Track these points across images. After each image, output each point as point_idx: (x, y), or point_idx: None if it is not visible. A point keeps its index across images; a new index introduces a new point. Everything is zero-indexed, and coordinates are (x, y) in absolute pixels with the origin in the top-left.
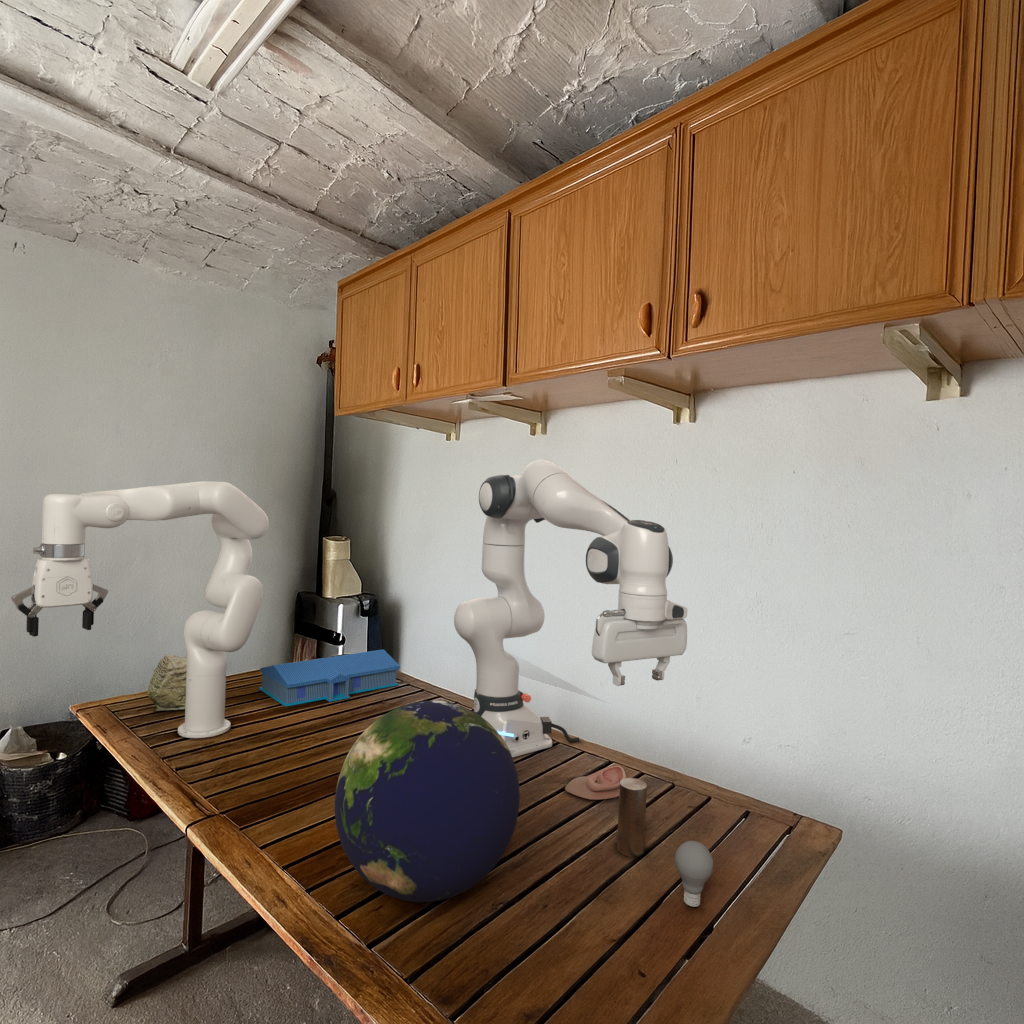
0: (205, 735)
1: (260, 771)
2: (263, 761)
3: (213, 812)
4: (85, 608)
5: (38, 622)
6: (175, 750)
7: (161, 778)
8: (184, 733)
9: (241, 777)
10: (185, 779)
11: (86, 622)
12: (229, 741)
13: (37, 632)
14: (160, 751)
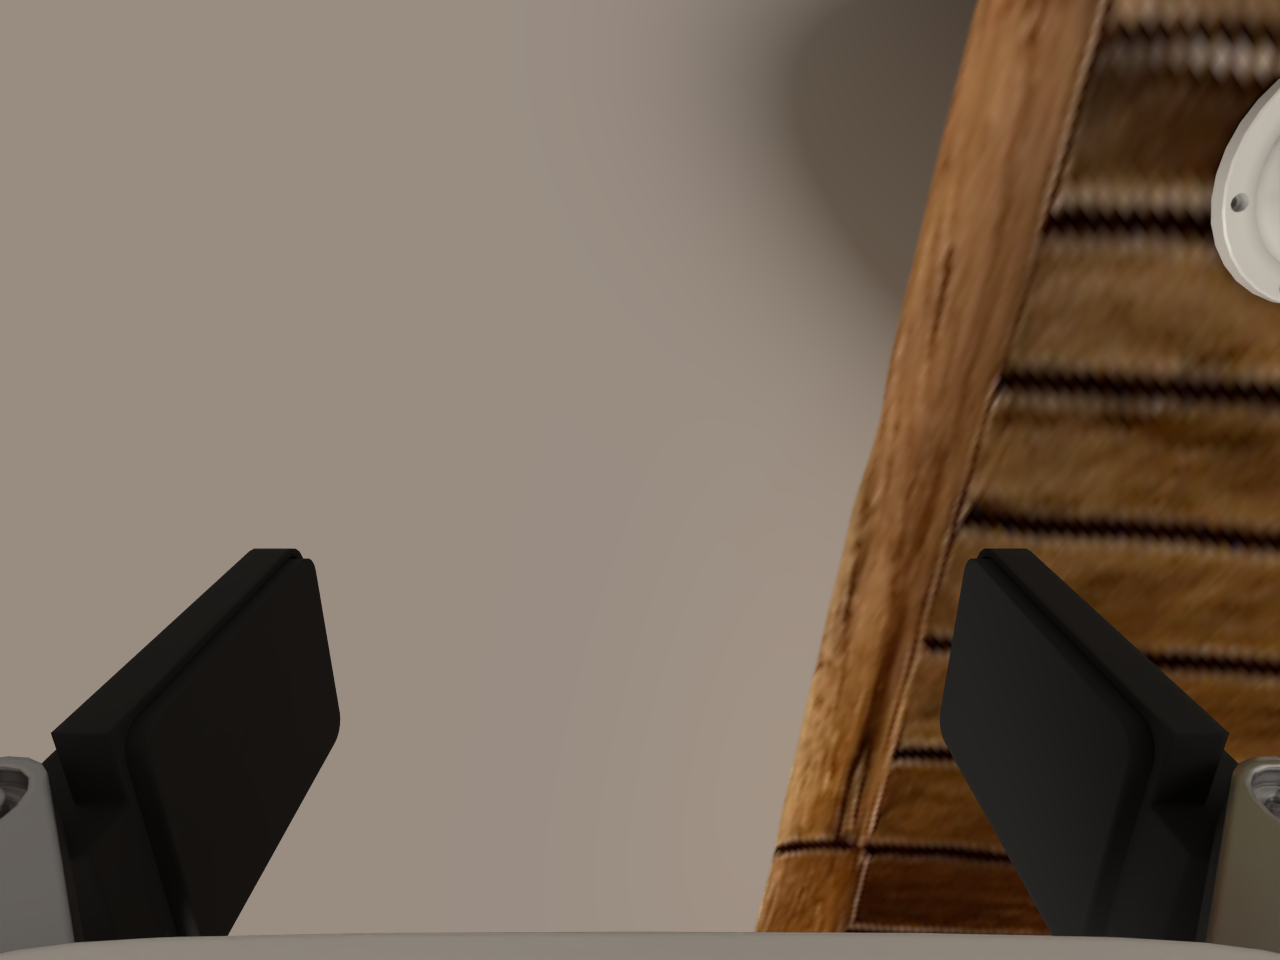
0: (1262, 295)
1: None
2: (1185, 658)
3: (856, 834)
4: (1180, 871)
5: (254, 882)
6: (1085, 333)
7: (892, 549)
8: (1224, 213)
9: None
10: (936, 609)
11: (986, 771)
12: (1276, 401)
13: (314, 762)
14: (1042, 297)
